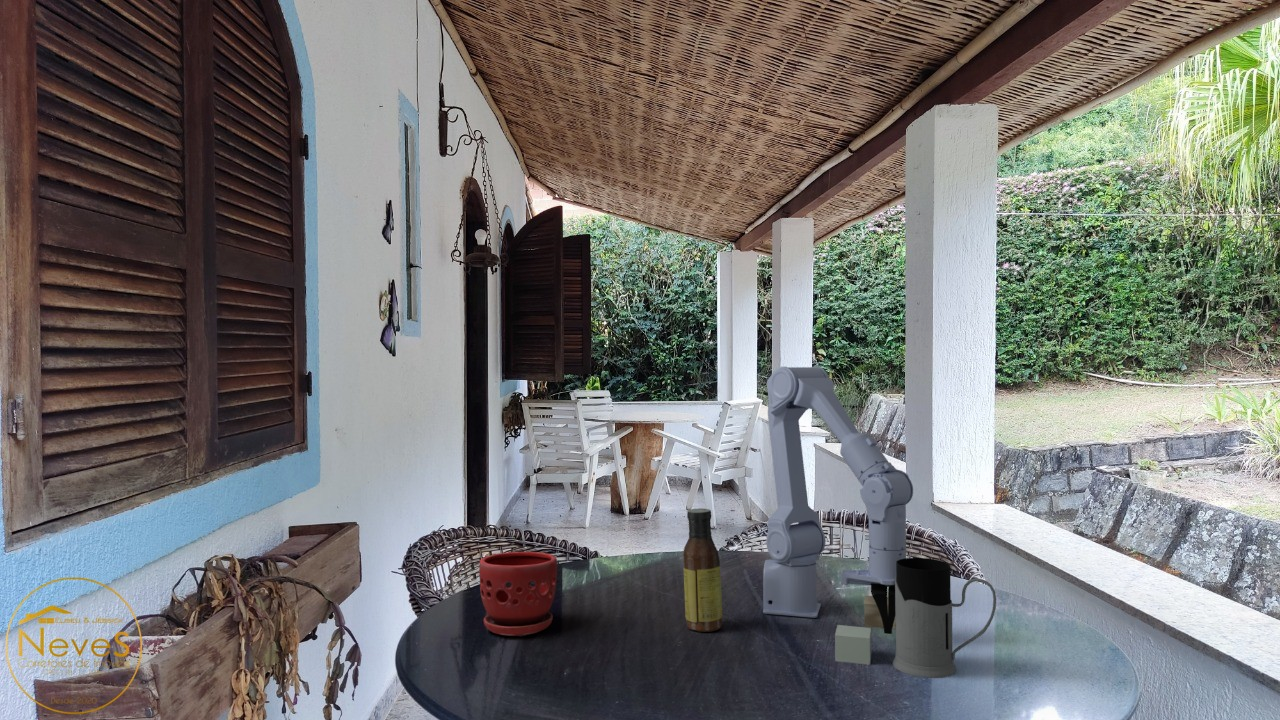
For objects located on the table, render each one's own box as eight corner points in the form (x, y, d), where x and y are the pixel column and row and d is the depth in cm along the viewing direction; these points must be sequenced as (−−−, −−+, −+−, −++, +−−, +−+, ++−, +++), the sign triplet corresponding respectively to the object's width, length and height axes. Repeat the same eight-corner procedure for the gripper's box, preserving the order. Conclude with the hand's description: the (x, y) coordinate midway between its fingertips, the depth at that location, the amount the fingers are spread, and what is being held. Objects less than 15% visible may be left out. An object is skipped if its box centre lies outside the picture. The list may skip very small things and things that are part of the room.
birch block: (864, 627, 136) (864, 603, 136) (864, 618, 140) (864, 595, 141) (895, 629, 134) (895, 605, 134) (894, 620, 139) (894, 597, 139)
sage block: (835, 662, 120) (834, 635, 120) (837, 650, 124) (837, 625, 125) (870, 665, 118) (869, 638, 118) (871, 654, 123) (871, 627, 123)
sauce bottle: (727, 624, 137) (726, 508, 137) (715, 635, 131) (714, 514, 132) (691, 619, 140) (690, 505, 140) (678, 630, 134) (677, 511, 134)
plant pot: (570, 631, 134) (570, 559, 134) (495, 646, 127) (495, 570, 127) (538, 611, 145) (538, 545, 145) (468, 624, 138) (468, 554, 139)
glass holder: (900, 652, 123) (899, 554, 123) (1000, 669, 116) (999, 565, 116) (886, 670, 116) (885, 566, 116) (993, 690, 109) (991, 579, 109)
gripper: (839, 549, 127) (840, 635, 127) (936, 555, 123) (937, 644, 122) (842, 540, 134) (842, 622, 134) (934, 545, 129) (935, 630, 129)
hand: (888, 632), depth 128 cm, fingers closed
